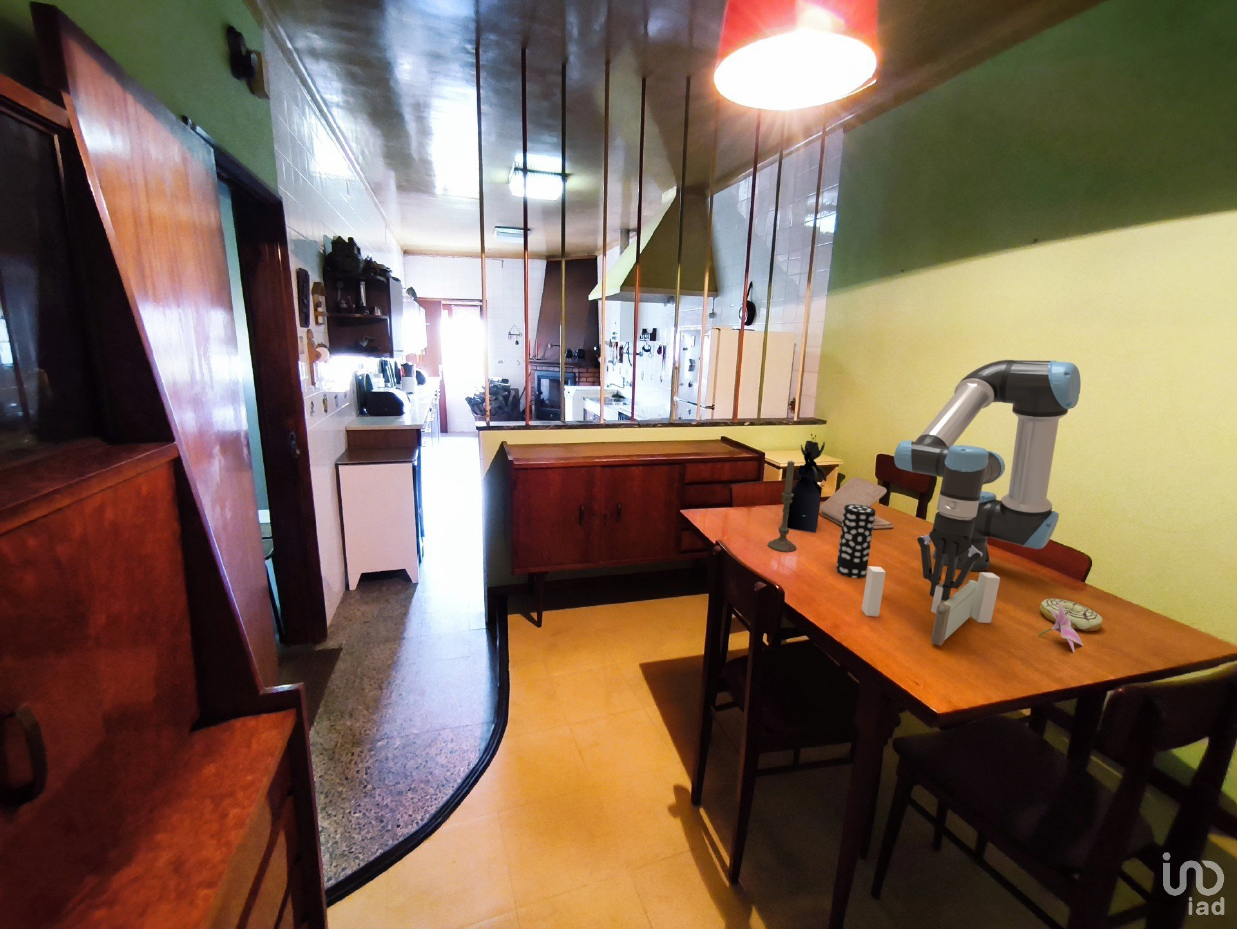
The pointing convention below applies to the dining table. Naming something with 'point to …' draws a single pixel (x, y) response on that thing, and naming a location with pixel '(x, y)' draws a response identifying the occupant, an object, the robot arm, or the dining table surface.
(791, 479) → the candlestick holder
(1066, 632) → the lily
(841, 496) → the case
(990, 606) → the gate posts
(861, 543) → the spotted tube
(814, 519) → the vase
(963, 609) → the gate
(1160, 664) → the dining table surface
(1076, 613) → the decorated donut
